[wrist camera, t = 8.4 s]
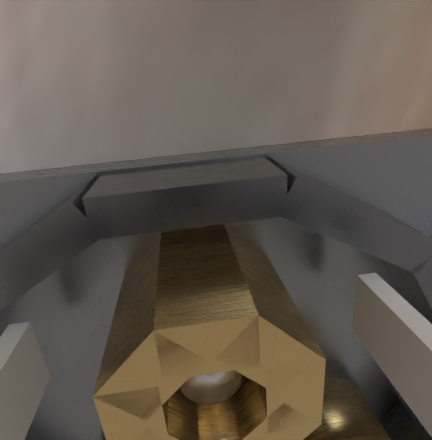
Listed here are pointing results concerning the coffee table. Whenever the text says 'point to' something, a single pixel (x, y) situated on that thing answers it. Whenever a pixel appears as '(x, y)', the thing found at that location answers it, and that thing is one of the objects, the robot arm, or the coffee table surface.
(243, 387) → the octagonal brass tube
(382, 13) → the coffee table surface
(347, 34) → the coffee table surface
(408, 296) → the carrier
